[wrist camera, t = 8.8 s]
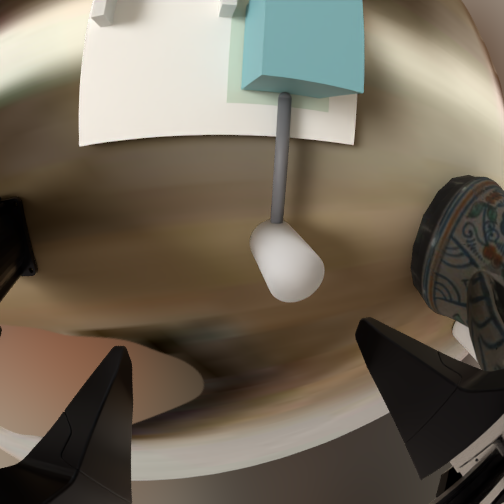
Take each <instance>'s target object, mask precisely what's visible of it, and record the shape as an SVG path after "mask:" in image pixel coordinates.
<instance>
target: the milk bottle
mask: <svg viewBox="0 0 504 504" xmlns="http://www.w3.org/2000/svg"><path fill="white" fill-rule="evenodd" d="M452 333H453V336H454V337H455V338H456V339H457V340H458V341H459V342H460V343H461V344H462V346H463V347H464V348H465V349H466V350H467V351H468V352H469V353H470V354H471V355H472V356H473V357H474V358H475V360H476V361H477V359H476V355H475V351H474V348H473V345H472V341H471V338H470V334H469V328H468V327H466V326H465V325H463V324H461V323H459V322H458V321H456V322H455V324H454V326H453V329H452ZM477 362H478V361H477Z"/></svg>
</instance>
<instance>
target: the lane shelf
mask: <svg viewBox="0 0 504 504" xmlns="http://www.w3.org/2000/svg"><path fill="white" fill-rule="evenodd" d="M248 2H249V0H93V2H92V7H91V11H90V16H89V20H88V26H87V31H86V37H85V43H84V50H83V58H82V68H81V79H80V95H79V146H85V145H91V144H97V143H104V142H112V141H120V140H129V139H138V138H150V137H163V136H182V135H256V136H275V137H276V128H277V109H278V96H279V94H280V93H277V92H267V91H255V90H241V83H242V64H243V46H244V30H245V14H246V6H247V4H248ZM290 95H291V97H292V104H291V121H290V137H289V138H301V139H311V140H320V141H328V142H336V143H343V144H350V145H354V135H355V123H356V109H357V94H350V95H341V96H333V97H326V98H314V97H308V96H301V95H294V94H290Z"/></svg>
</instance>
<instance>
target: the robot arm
mask: <svg viewBox="0 0 504 504" xmlns="http://www.w3.org/2000/svg"><path fill="white" fill-rule="evenodd" d="M15 202H16V203H17V206H16V204H15ZM31 268H32V269H33V270H32V269H31ZM36 272H37V265H36V262H35V259H34V255H33V251H32V248H31V244H30V240H29V236H28V231H27V227H26V222H25V217H24V212H23V206H22V201H21V199H20V198H19V197H14V198H9V199H4V200H1V198H0V302H1V301H2V299H3V298H4V297H5V295H6V294H7V293H8V291H9V290H10V289H11V288H12V286H13V285H14V284H15V283H16V281H17V280H18V279H19V278H20V276H34V275H35V274H36ZM1 331H2V329H1V327H0V336H1ZM355 337H356V340H357V343H358V345H359V348H360V350H361V353H362V355H363V358H364V360H365V363H366V365H367V368H368V370H369V372H370V374H371V376H372V378H373V380H374V382H375V384H376V386H377V387H378V389H379V391H380V393H381V395H382V397H383V399H384V401H385V403H386V406H387V408H388V410H389V412H390V414H391V416H392V418H393V420H394V422H395V424H396V426H397V428H398V430H399V432H400V435H401V437H402V439H403V441H404V443H405V446H406V448H407V450H408V452H409V455H410V457H411V459H412V461H413V464H414V466H415V468H416V471H417V473H418V475H419V477H420V479H421V480H423V479H424V478H426V477H427V476H429V475H430V474H432V473H433V472H435V471H436V470H438V469H439V468H441V467H442V466H444V465H445V464H447V463H448V462H449V461H450V462H451V464H452V465H453V466H452V467H451V468H449V469H448V470H447V471H446V472H444V473H443V474H442V475H441V479H440V483H439V487H438V491H437V494H436V497H437V498H436V499H435V500H433V501H432V502H431V503H429V504H501V503H503V502H504V369H500V370H495V371H484V370H481V369H478V368H476V367H473V366H471V365H468V364H465V363H463V362H461V361H458V360H456V359H453V358H451V357H449V356H447V355H445V354H443V353H441V352H439V351H437V350H435V349H433V348H431V347H429V346H427V345H425V344H423V343H421V342H419V341H417V340H415V339H413V338H411V337H409V336H407V335H405V334H403V333H401V332H399V331H397V330H395V329H393V328H391V327H389V326H387V325H385V324H383V323H381V322H379V321H377V320H375V319H373V318H372V317H366V318H362V319H361V320H360V322H359V325H358V327H357V330H356V333H355ZM132 412H133V388H132V363H131V360H130V357H129V354H128V351H127V349H126V347H125V346H114V347H113V348H112V349H111V351H110V352H109V353H108V355H107V356H106V357H105V358H104V359H103V361H102V362H101V363H100V365H99V366H98V367H97V368H96V370H95V371H94V372H93V374H92V375H91V376H90V377H89V379H88V380H87V381H86V383H85V384H84V385H83V386H82V388H81V389H80V390H79V392H78V393H77V394H76V396H75V397H74V398H73V400H72V401H71V402H70V404H69V405H68V406H67V408H66V409H65V412H63V413H62V414H61V416H60V417H59V419H58V420H57V421H56V423H55V424H54V425H53V426H52V428H51V429H50V430H49V431H48V432H47V434H46V435H45V436H44V437H43V438H42V439H41V440H40V442H39V443H38V444H37V445H36V446H35V447H34V448H33V449H32V451H31V452H30V453H29V454H28V455H27V456H26V457H25V458H24V459H23V460H22V461H21V462H19V463H18V464H16V465H13V466H9V467H5V468H1V469H0V504H132V495H131V494H132V493H131V433H132Z"/></svg>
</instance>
